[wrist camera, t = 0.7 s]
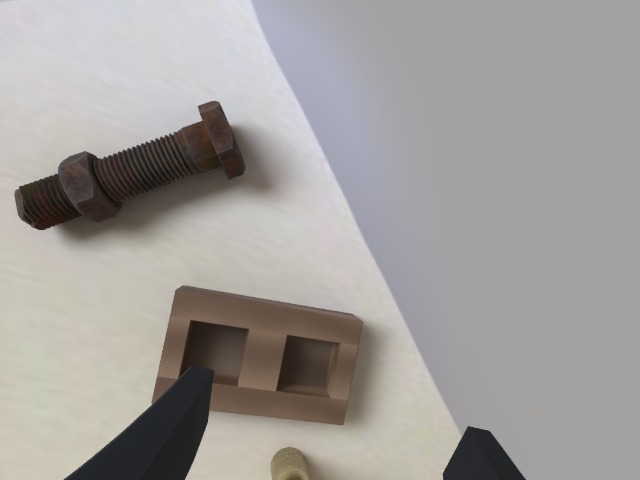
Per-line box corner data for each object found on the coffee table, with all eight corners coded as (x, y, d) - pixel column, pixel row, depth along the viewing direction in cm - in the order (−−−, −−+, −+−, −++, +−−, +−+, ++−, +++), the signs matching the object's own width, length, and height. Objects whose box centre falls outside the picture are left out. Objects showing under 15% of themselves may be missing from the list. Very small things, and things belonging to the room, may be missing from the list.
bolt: (52, 205, 29) (232, 140, 31) (58, 258, 27) (252, 184, 29) (-10, 156, 24) (211, 82, 26) (-9, 217, 22) (232, 130, 24)
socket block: (334, 408, 31) (343, 425, 28) (161, 387, 29) (151, 403, 26) (352, 314, 32) (362, 321, 29) (183, 285, 29) (175, 289, 26)
